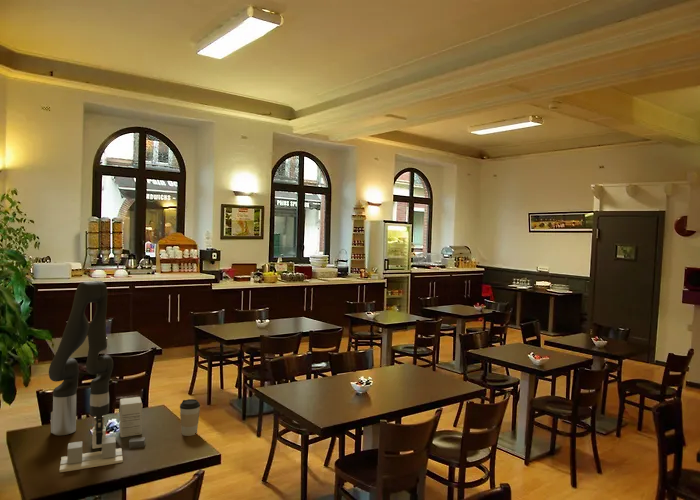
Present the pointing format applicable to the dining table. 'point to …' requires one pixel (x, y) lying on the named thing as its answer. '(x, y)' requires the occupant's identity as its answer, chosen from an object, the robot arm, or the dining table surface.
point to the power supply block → (137, 442)
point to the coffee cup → (189, 416)
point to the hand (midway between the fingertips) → (99, 441)
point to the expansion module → (95, 437)
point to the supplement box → (130, 416)
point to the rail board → (91, 456)
